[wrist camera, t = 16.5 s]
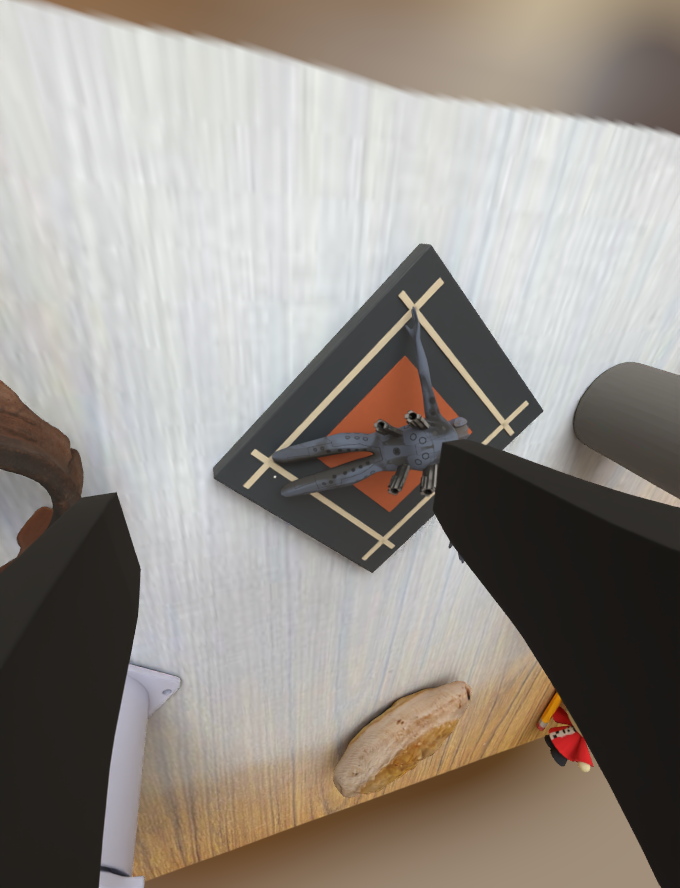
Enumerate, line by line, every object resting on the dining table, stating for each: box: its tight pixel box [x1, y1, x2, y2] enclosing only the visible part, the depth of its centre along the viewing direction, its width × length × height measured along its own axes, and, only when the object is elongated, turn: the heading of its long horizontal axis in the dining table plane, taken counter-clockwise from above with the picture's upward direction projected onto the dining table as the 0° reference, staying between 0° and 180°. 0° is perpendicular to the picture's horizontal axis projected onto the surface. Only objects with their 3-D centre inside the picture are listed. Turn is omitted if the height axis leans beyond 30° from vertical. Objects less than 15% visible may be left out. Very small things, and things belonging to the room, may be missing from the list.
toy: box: [545, 706, 593, 772], centre depth 42 cm, size 7×7×15 cm
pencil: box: [537, 692, 562, 731], centre depth 43 cm, size 1×18×1 cm, turn 171°
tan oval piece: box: [333, 681, 472, 798], centre depth 34 cm, size 5×14×4 cm, turn 121°
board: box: [213, 244, 543, 573], centre depth 21 cm, size 14×12×1 cm
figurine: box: [272, 307, 470, 563], centre depth 19 cm, size 12×10×5 cm
